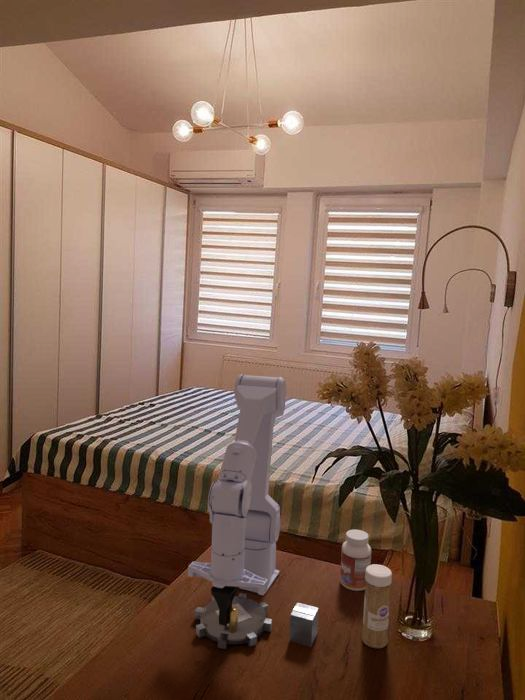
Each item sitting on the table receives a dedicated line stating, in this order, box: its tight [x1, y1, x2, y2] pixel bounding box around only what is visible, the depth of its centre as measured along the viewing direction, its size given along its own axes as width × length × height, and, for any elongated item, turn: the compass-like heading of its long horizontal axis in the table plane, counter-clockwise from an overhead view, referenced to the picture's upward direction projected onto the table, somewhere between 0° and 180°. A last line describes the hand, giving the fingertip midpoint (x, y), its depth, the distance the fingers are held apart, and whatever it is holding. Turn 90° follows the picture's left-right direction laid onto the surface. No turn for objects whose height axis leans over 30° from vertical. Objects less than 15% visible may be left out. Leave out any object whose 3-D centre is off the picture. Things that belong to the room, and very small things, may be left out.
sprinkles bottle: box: [361, 563, 393, 649], centre depth 93 cm, size 5×5×14 cm
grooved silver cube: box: [289, 602, 319, 647], centre depth 94 cm, size 4×4×5 cm
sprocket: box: [194, 592, 273, 650], centre depth 97 cm, size 14×14×6 cm
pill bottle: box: [339, 529, 372, 592], centre depth 112 cm, size 6×6×11 cm
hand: (225, 622), depth 93 cm, fingers closed, pressing on sprocket
